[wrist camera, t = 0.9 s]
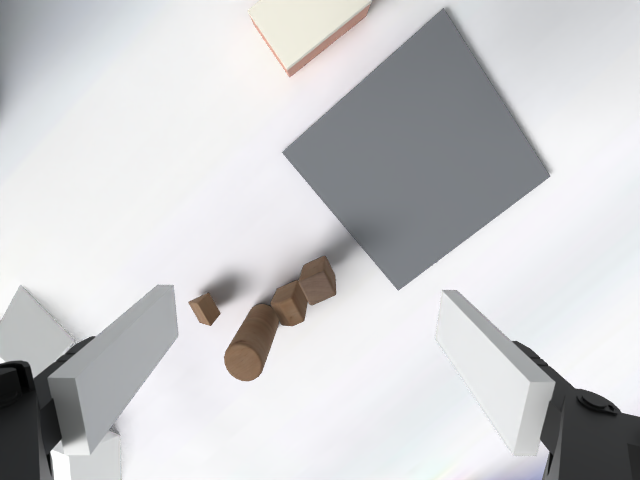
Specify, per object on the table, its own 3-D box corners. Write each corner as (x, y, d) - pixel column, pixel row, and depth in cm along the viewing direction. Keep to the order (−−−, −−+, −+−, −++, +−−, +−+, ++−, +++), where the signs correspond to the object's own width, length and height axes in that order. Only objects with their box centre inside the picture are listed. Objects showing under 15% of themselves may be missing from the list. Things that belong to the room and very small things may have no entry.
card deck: (255, 27, 34) (247, 10, 30) (332, -39, 32) (335, -65, 28) (289, 78, 35) (286, 68, 31) (365, 17, 33) (372, -1, 30)
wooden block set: (319, 238, 39) (315, 259, 29) (348, 298, 41) (354, 338, 31) (194, 296, 41) (150, 335, 31) (226, 352, 43) (194, 406, 33)
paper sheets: (-96, 304, 41) (-157, 326, 36) (49, 271, 40) (9, 288, 35) (27, 503, 50) (-7, 545, 44) (148, 479, 49) (128, 519, 44)
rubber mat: (282, 152, 36) (281, 152, 36) (440, 11, 33) (443, 8, 32) (396, 288, 41) (398, 290, 40) (545, 176, 38) (550, 176, 37)
